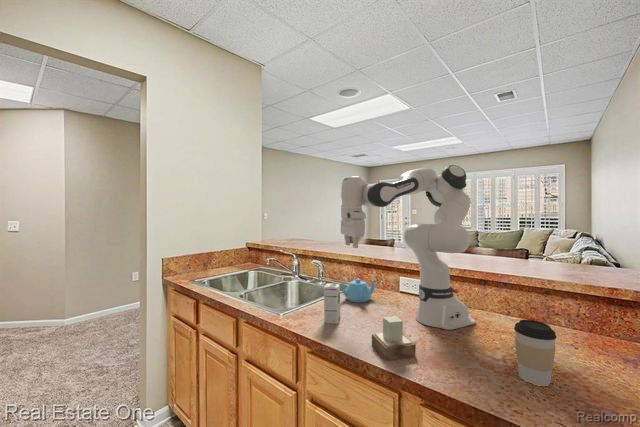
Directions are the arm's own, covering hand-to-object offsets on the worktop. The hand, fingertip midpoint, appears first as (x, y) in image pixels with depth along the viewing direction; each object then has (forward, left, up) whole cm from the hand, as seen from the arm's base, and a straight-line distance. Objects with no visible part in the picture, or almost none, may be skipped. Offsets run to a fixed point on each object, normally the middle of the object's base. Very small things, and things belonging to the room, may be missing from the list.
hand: (351, 246), depth 123 cm
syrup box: (+10, +5, -29) cm, 31 cm away
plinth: (-2, +33, -29) cm, 44 cm away
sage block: (-2, +33, -25) cm, 41 cm away
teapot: (-10, -17, -29) cm, 35 cm away
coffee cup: (-31, +56, -29) cm, 70 cm away
